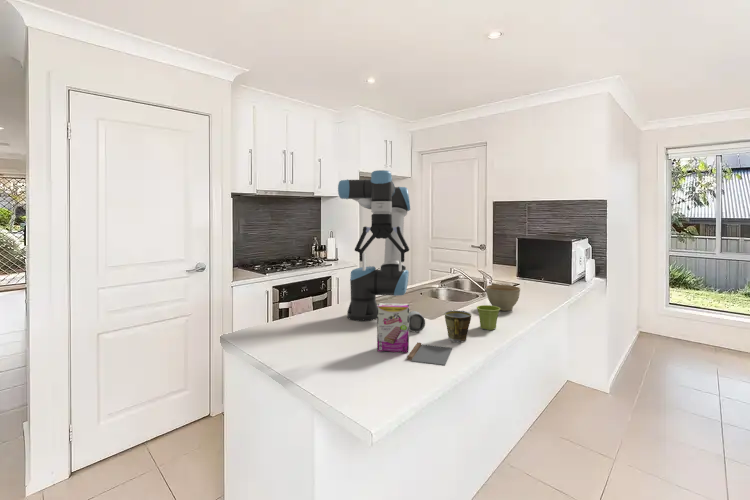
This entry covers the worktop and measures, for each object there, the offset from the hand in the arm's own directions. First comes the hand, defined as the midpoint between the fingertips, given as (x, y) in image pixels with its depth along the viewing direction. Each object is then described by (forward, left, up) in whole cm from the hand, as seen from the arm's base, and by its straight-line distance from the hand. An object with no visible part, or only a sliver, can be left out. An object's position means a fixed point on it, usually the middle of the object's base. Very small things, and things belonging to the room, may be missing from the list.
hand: (382, 270), depth 141 cm
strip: (+15, -8, -27) cm, 32 cm away
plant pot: (+37, +29, -27) cm, 54 cm away
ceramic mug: (+7, +16, -27) cm, 33 cm away
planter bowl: (+42, +64, -27) cm, 81 cm away
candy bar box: (+7, -8, -27) cm, 29 cm away
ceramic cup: (+27, +9, -27) cm, 39 cm away
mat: (+21, -8, -27) cm, 35 cm away
